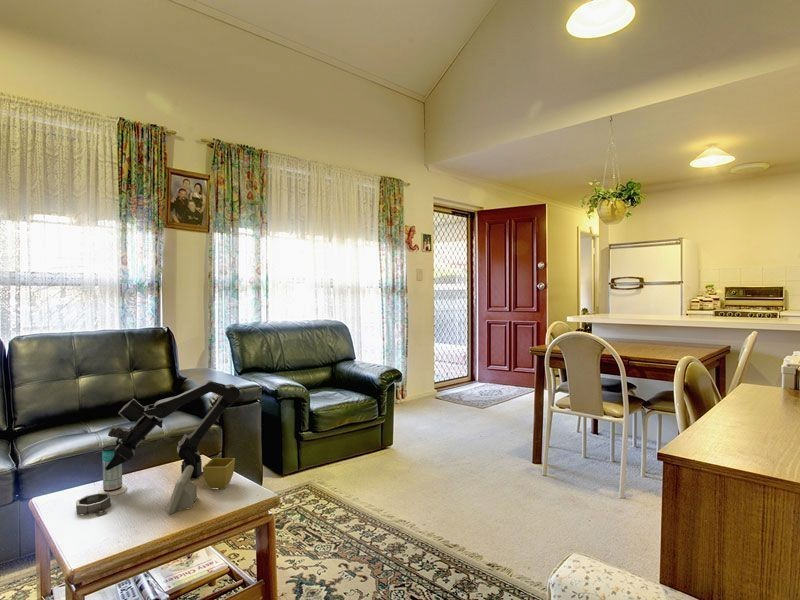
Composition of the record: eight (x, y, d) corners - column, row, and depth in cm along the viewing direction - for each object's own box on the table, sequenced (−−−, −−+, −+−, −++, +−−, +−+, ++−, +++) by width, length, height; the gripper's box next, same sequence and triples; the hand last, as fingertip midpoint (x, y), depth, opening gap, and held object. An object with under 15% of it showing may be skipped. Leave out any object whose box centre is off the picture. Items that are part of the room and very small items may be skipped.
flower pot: (226, 491, 168) (226, 466, 168) (202, 491, 168) (201, 466, 168) (236, 481, 177) (235, 457, 176) (212, 481, 177) (212, 458, 177)
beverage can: (123, 484, 174) (121, 443, 174) (121, 490, 169) (120, 448, 169) (104, 487, 171) (103, 446, 171) (102, 493, 166) (101, 451, 166)
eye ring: (124, 502, 160) (124, 493, 160) (102, 516, 151) (101, 507, 150) (86, 500, 163) (85, 491, 162) (61, 513, 153) (61, 504, 153)
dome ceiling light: (132, 486, 174) (132, 484, 174) (114, 497, 165) (114, 495, 165) (110, 485, 175) (110, 483, 175) (91, 495, 166) (91, 493, 166)
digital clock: (179, 494, 167) (179, 464, 166) (205, 493, 167) (204, 463, 166) (156, 516, 150) (155, 483, 150) (184, 515, 150) (183, 482, 150)
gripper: (124, 411, 180) (90, 445, 175) (121, 423, 163) (84, 460, 158) (148, 428, 183) (115, 462, 178) (148, 441, 167) (112, 479, 162)
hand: (107, 465), depth 169 cm, fingers open, 9 cm apart
